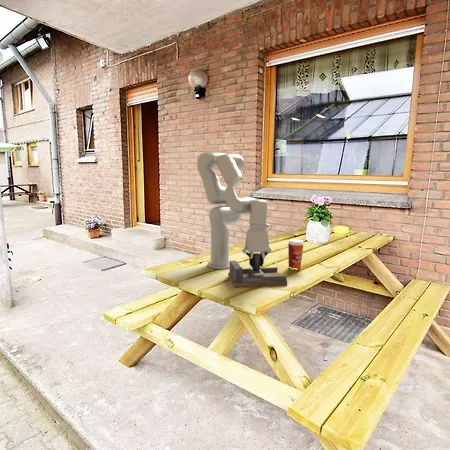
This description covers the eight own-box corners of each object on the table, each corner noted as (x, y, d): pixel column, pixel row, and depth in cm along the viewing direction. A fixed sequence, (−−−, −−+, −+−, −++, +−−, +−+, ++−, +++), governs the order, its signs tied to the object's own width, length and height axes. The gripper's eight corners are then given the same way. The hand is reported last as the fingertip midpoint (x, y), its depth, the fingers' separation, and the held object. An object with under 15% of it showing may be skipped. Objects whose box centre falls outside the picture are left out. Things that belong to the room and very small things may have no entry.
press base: (228, 276, 160) (228, 260, 158) (275, 274, 165) (276, 258, 163) (235, 287, 145) (235, 270, 144) (287, 285, 150) (288, 268, 149)
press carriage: (248, 272, 159) (249, 251, 157) (257, 272, 160) (257, 251, 158) (254, 279, 149) (255, 257, 147) (263, 279, 150) (264, 256, 148)
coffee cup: (294, 272, 169) (296, 243, 166) (283, 267, 175) (284, 240, 172) (306, 269, 173) (307, 241, 171) (294, 265, 180) (295, 238, 177)
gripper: (272, 225, 156) (270, 263, 159) (237, 225, 152) (236, 264, 156) (278, 228, 148) (276, 267, 152) (242, 228, 145) (240, 269, 148)
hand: (256, 265), depth 154 cm, fingers closed on press carriage, 3 cm apart
